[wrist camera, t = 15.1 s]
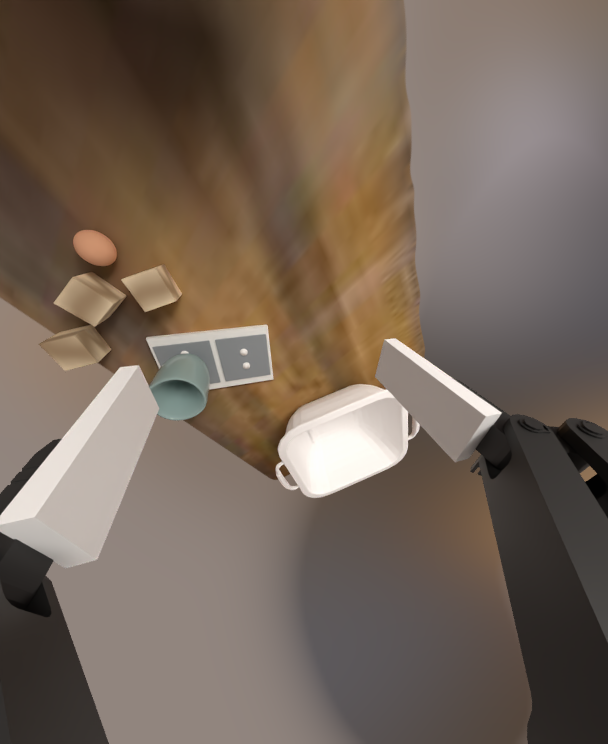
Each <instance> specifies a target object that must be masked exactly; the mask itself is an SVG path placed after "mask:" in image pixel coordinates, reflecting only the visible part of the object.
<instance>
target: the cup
mask: <svg viewBox="0 0 608 744" xmlns="http://www.w3.org/2000/svg"><path fill="white" fill-rule="evenodd" d="M149 388H150V390H151V392H152V394H153V396H154V398H155V400H156V402H157V405H158V407H159V411H158V413H157V415H159V416H161V417H163V418H165V419H169V420H185V419H189V418H192V417H194V416H196V415H198V414H199V413H200V412H202V411H203V409H204V408H205V406H206V404H207V399H208V394H209V388H210V373H209V369H208V367H207V365H206V363H205V362H204V361H203V360H202V359H201V358H200V357H198V356H196V355H194V354H190V353H182V354H178V355H175V356H173V357H171V358H170V359H168V360H167V361H166V362H165V363H164V364H163V365H162V366H161V367H160V369H159V370H158V371H157V373H156V374H155V376H154V378H153V380H152V381H151V383H150V385H149Z"/></svg>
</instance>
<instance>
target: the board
mask: <svg viewBox="0 0 608 744" xmlns="http://www.w3.org/2000/svg"><path fill="white" fill-rule="evenodd" d="M146 340H147V342H148V345H149V347H150V349H151V351H152V354H153V356H154V358H155V360H156V363H157V365H158V367H159V369H160V367H161V366H162V365H163V364H164V363H165V362H166V361H167V360H168V359H170V358H171V357H173V356H175V355H178V354H182V353H190V354H194V355H196V356H198V357H200V358H201V359H202V360H203V361H204V362H205V363H206V365H207V367H208V369H209V373H210V388H209V390H210V389H216V388H222V387H229V386H235V385H241V384H247V383H254V382H260V381H266V380H273V371H272V362H271V353H270V344H269V335H268V326H267V324H266V325H257V326H247V327H238V328H228V329H219V330H209V331H200V332H190V333H180V334H171V335H161V336H152V337H147V338H146Z"/></svg>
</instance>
